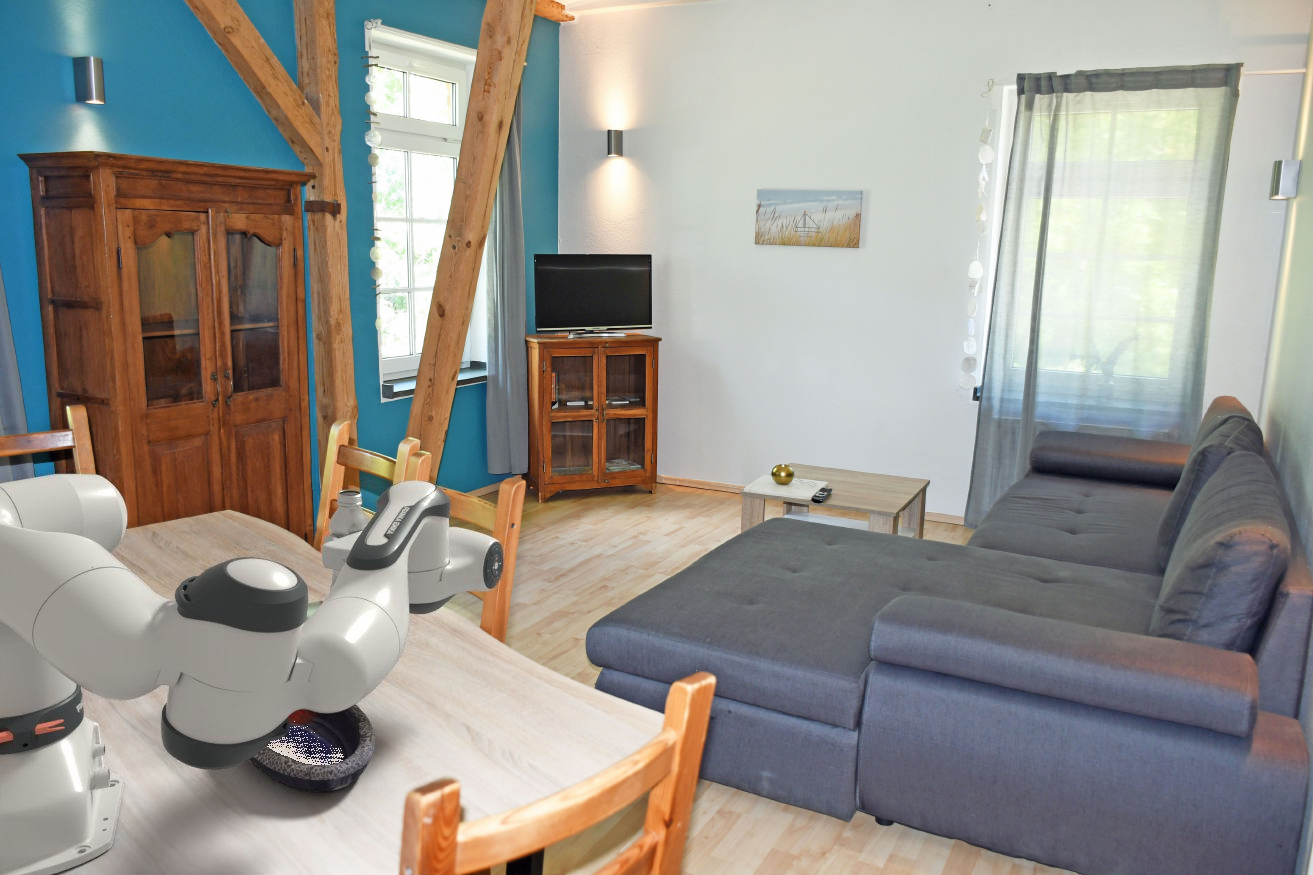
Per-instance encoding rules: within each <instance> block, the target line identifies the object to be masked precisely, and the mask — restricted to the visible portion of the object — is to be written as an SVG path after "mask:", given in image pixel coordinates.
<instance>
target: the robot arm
mask: <svg viewBox="0 0 1313 875" xmlns="http://www.w3.org/2000/svg"><path fill="white" fill-rule="evenodd" d="M375 503H376V512H375V513H374V515H373V516H372V517H371V519H369V523H368V524H367V525H366V527H365V528H364V530H362V531H359V532H356V533H354V534H351V535H348V536H345V537H342V538H339V536H338V535H333V534H331V535H330V534H328V535H326V536H325V535H324V537H323V544H322V545H321V561H322V565H323V567H324V568H326V569H329V570H339V571H341V572H340V574H339V576H338V578H337V580H336V582H335V584H334V586H333V587H332V589H331V591H330V590H329V592H328V594H327V596H326V597H325V599H324V601H323V603H322V605H321V606H320V607H319V608H318V609H317V610H316V611H315V612H314V613H313V614H312V615H311V616H310V618H309V619H308V620H307V621H306V618H307V611H308V603H309V591H308V590H309V589H308V585H307V583H306V581H305V580H304V579H303V578H302V577H301V575H299V574H298V572H296V571H295V570H294V569H292V568H291V567H289V566H286V565H285V564H282V563H279V562H277V561H274V560H270V559H265V558H261V557H254V556H253V557H251V556H243V557H240V556H239V557H235V558H231V559H228V560H226V561H223V562H219V563H217V564H216V565H213V566H210V567H208V568H206V570H204V571H203V572H202V573H200V574H199V575H194V576H190V577H188V578H186V579H183V581H182V582H181V583H180V584H179V585H178V587H177V588H175V591H174V599H171V598H170V599H169V598H167V597H164V596H161V595H159V594H158V593H157V592H155V591H154V590H153V589H151V588H150V586H148V584H146V583H145V582H144V581H143V580H142V579H141V578H140V577H139V576H137V574H136V573H134V572H133V571H132V570H130V569H129V568H128V567H127V566H126V565H124V564H123V563H122V562H121V561H120V560H118V559H117V558H116V557H115V556H114V555H113V554H112V552H114V550H116V548H118V547H119V545H120V543H121V542H122V540H123V538H124V536H125V534H126V531H127V530H126V529H127V526H128V509H127V505H126V502H125V500H124V497H123V496H122V494H121V493H120V491H119V490H118V488H116V486H115V485H114V484H113V483H111V482H110V481H109V480H108V479H107V478H105V477H104V476H101V475H99V474H89V473H88V474H86V473H84V474H83V473H82V474H81V473H54V474H47V475H43V476H42V475H41V476H37V477H36V476H35V477H30V478H24V479H19V480H13V481H6V482H2V483H0V875H54V874H57V873H60V872H63V871H65V870H69V869H72V868H74V867H77V866H81V865H83V864H84V863H86V862H88V861H90V860H93V859H95V858H96V857H99V856H101V855H102V854H103V853H106V852H107V851H109V850H110V849H111V848H112V846H113V845H114V841H115V840H114V839H115V834H116V830H117V826H118V825H117V824H118V821H119V815H120V810H121V805H122V800H123V797H124V796H123V795H124V790H125V786H126V783H125V778H124V775H122V774H121V773H120V774H119V773H112V772H111V770H110V767H109V766H105V765H104V758H103V757H104V756H105V755H106V745H105V743H102V742H101V741H102V740H101V732H100V725H99V723H98V722H95V721H93V720H91V719H89V718H87V717H86V716H85V708H84V702H85V700H84V693H83V691H82V689H84V690H86V691H88V692H90V693H92V694H94V695H95V696H98V697H100V698H102V699H105V700H110V701H117V702H119V701H120V702H122V701H123V702H125V701H129V700H136V699H138V698H141V697H144V696H146V695H148V694H150V693H152V692H154V691H155V690H157V689H159V687H161V686H168V692H167V697H166V702H165V704H164V705H163V708H162V710H161V718H160V733H161V740H162V741H161V742H162V744H163V747H164V749H165V751H166V752H167V753H168V754H169V755H170V756H172V757H173V758H174V759H176V760H177V761H179V762H181V763H183V764H184V765H186V766H189V767H192V768H197V769H200V770H208V771H213V770H214V771H215V770H224V769H228V768H232V767H235V766H237V765H239V764H242V763H244V762H246V761H247V760H250V758H252V757H253V756H255V755H257V754H258V753H259V752H260V751H261V750H262V749H263V748H265V747H266V746H267V745H268V744H269V742H270V741H273V740H277V739H280V738H282V737H284V736H285V735H286V734H287V733H288V731H289V729H290V719H289V715H290V714H292V713H293V712H294V711H296V710H300V709H307V710H311V711H314V712H319V713H335V712H339V711H342V710H345V709H347V708H349V707H351V706H353V705H354V704H356V705H357V703H359V702H361V701H362V700H364V698H366V697H367V696H369V695H370V694H371V693H372V692H373V691H374V690H376V689H377V687H378V686H379V685H380V684H382V682H383V681H384V680H385V679H386V678H387V677H388V675H389V674H390V673H391V672H392V670H393V669H394V668H395V666H396V665H398V664H397V663H398V662H399V661H400V659H401V657H402V655H403V653H404V651H405V648H406V645H407V641H408V637H409V632H410V614H411V615H413V614H414V615H427V614H430V613H433V612H436V611H438V610H439V609H441V608H442V607H443V606H444V605H446V603H448V602H450V600H451V599H452V598H454V597H455V595H457V594H460V593H465V592H488V591H491V590H493V589H495V588H496V587H497V585H498V583H499V582H500V580H501V578H502V574H503V572H504V564H505V563H504V562H505V559H504V558H505V557H504V556H505V555H504V548H503V545H502V543H501V542H500V541H499V540H498V539H496V538H494V537H492V536H490V535H488V534H485V533H482V532H478V531H476V530H471V529H467V528H462V527H459V526H458V527H457V526H450V517H451V503H452V501H451V499H450V497H449V496H448V495H447V493H445V492H444V491H443V489H441V487H439V486H438V485H437V484H435V483H434V482H431V481H426V480H406V481H404V480H403V481H400V482H397V483H396V482H395V483H394V484H392V485H390V486H389V487H388V488H387V489H385V490H384V491H383V492H382V493H381V494H380V495H379V497H378V498H377V499H376V502H375ZM305 621H306V622H305ZM304 622H305V624H304V625H302V624H303V623H304ZM282 728H283V730H282Z"/></svg>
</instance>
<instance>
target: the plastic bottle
mask: <svg viewBox="0 0 1313 875" xmlns="http://www.w3.org/2000/svg"><path fill="white" fill-rule="evenodd" d="M336 505H337V506H338V507H337V509H336V511H335V512H334V513H333V515H332V516H331V518H330V520H329V523H328V532H329V535H331V534H333V535H338V536H339V538H342V537H345V536H348V535H351V534H354V533H356V532H359V531H362V530H364V528H365V527H366V525H367V524H368V523H369V521H370V519H369V517H368V515H367V514H366V512H365V511H364V509H363V508H362V507H361V506H362V505H363V500H362V491H360V490H357V489H356V490H355V489H344V490H343V489H342V490H340V491H338V492H337V500H336ZM331 572H332V573H331V584H330V588H329V592H330V591H331V589H332V587H333V586H334V584H335V582H336V580H337V578H338V576H339V574H340V572H341V571H339V570H333V569H331Z"/></svg>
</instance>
